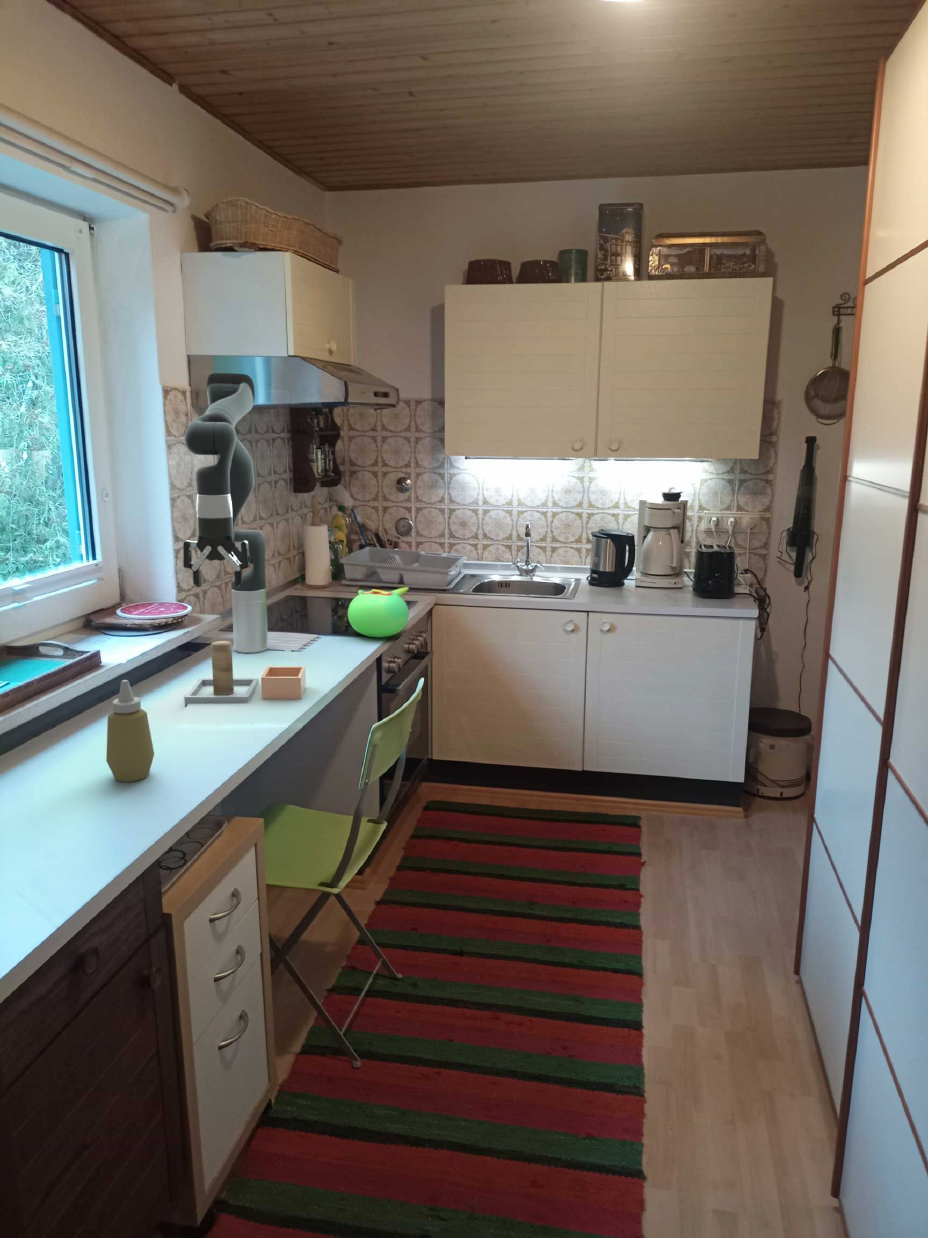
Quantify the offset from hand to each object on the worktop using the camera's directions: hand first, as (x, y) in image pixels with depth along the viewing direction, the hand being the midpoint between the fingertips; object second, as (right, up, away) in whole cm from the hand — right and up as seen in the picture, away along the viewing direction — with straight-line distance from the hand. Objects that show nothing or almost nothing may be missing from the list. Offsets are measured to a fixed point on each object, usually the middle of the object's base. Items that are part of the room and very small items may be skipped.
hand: (218, 586), depth 194 cm
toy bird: (+30, -13, +63) cm, 71 cm away
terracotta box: (+14, -25, +7) cm, 30 cm away
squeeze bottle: (-5, -36, -38) cm, 53 cm away
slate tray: (0, -25, +6) cm, 26 cm away
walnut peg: (0, -25, +6) cm, 25 cm away
